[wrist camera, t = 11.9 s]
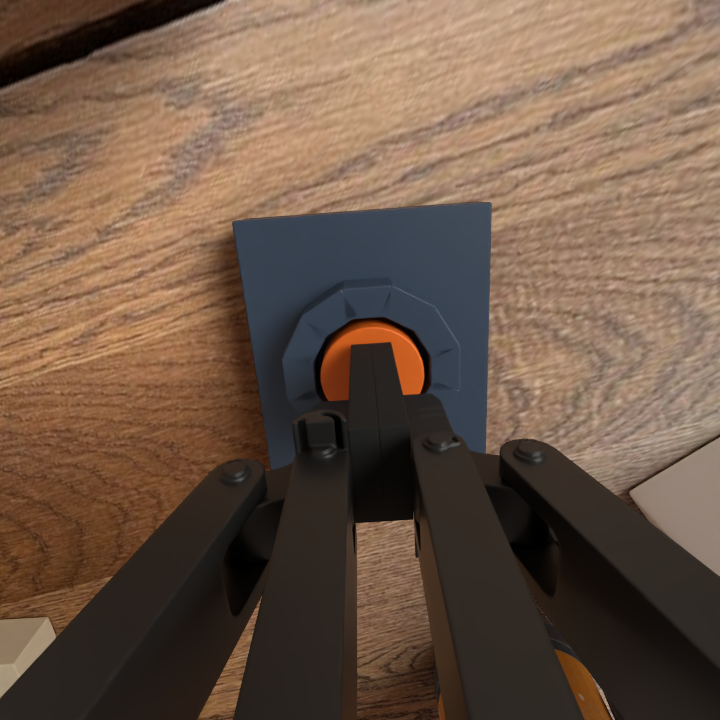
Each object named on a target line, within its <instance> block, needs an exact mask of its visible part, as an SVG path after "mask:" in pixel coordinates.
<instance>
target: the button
mask: <svg viewBox="0 0 720 720" xmlns="http://www.w3.org/2000/svg"><path fill="white" fill-rule="evenodd" d="M384 342H391V344H392V348H393V353H394V357H395V362H396V366H397V370H398V375H399V379H400V384H401V388H402V392H403V395H410V394H420V392H421V390H422V387H423V382H424V366H423V362H422V359H421V356H420V354H419V351H418V349H417V346H416V344H415V341H414V340H413V338H412V336H411V335H410V334H409V332H408V331H407V330H406V329H405V328H404V327H402V326H401V325H400V324H398V323H395V322H393V321H391V320H389V319H387V318H384V317H380V318H365V319H353V320H351V321H349V322H348V323H346V324H345V325H343V326H342V327H340V328H339V329H337V330H336V331H335V332H334V334H333V335H332V336H331V338H330V340H329V341H328V343H327V346H326V348H325V352H324V357H323V361H322V366H321V384H322V388H323V391H324V394H325V396H326V398H327V399H328V401H338V400H348V399H349V376H350V354H351V345H355V344H369V343H384Z"/></svg>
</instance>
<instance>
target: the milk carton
mask: <svg viewBox="0 0 720 720" xmlns="http://www.w3.org/2000/svg"><path fill="white" fill-rule="evenodd" d="M630 496H631V497H632V499H633V500H634V501H635V503H636V504H637V505H638V507H639V508H640V510H641V511H642V512H643V514H644V515H645V517H646V518H647V519H648V521H649V522H650V523H652V524H653V525H654V526H656V527H657V528H658V529H659V530H661V531H662V532H663V533H665V534H666V535H667V536H668V537H670V538H671V539H672V540H674V541H675V542H676V543H677V544H679V545H680V546H681V547H683V548H684V549H685V550H686V551H688V552H689V553H690V554H692V555H693V556H694V557H695V558H697V559H698V560H699V561H701V562H702V563H703V564H704V565H706V566H707V567H708V568H710V569H711V570H712V571H713V572H715V573H716V574H717V575H719V576H720V437H719V438H718V439H716V440H714V441H713V442H711V443H709V444H707V445H706V446H704V447H702V448H701V449H699V450H697V451H696V452H694V453H692V454H691V455H689V456H687V457H686V458H684V459H682V460H681V461H679V462H677V463H676V464H674V465H672V466H671V467H669V468H667V469H666V470H664V471H662V472H661V473H659V474H657V475H656V476H654V477H652V478H650V479H649V480H647V481H645V482H644V483H642V484H641V485H639V486H637V487H636V488H634V489H633V490H631V491H630Z"/></svg>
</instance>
